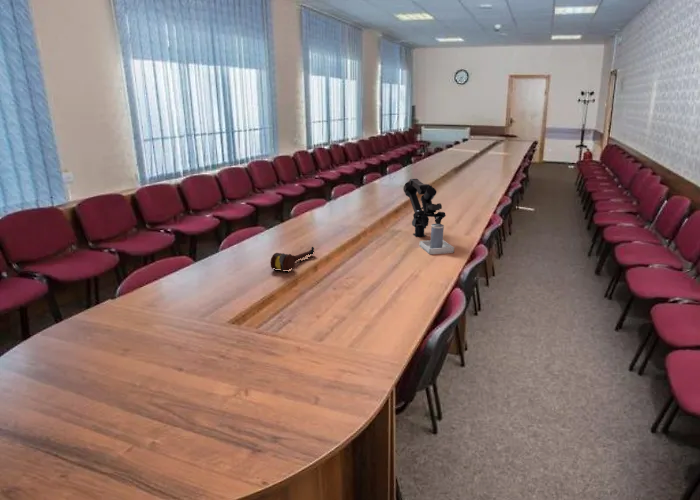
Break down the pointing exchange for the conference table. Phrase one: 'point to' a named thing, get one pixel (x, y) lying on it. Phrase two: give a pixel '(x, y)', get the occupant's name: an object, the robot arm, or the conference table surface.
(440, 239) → the canister
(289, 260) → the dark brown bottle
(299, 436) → the conference table surface
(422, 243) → the tray
